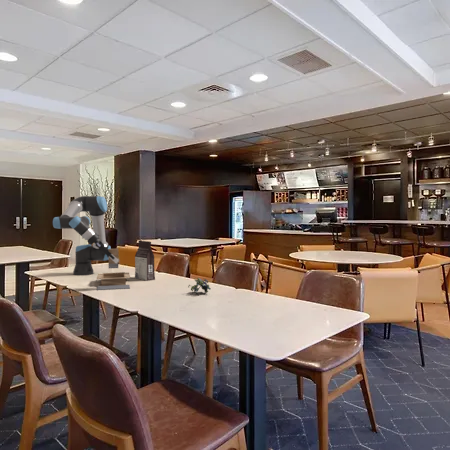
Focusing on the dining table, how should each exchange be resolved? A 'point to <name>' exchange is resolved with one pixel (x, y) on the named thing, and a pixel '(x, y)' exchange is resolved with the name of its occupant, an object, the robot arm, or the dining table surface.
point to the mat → (113, 287)
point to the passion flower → (202, 285)
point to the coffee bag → (144, 262)
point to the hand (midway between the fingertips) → (117, 261)
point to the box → (111, 262)
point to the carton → (113, 278)
